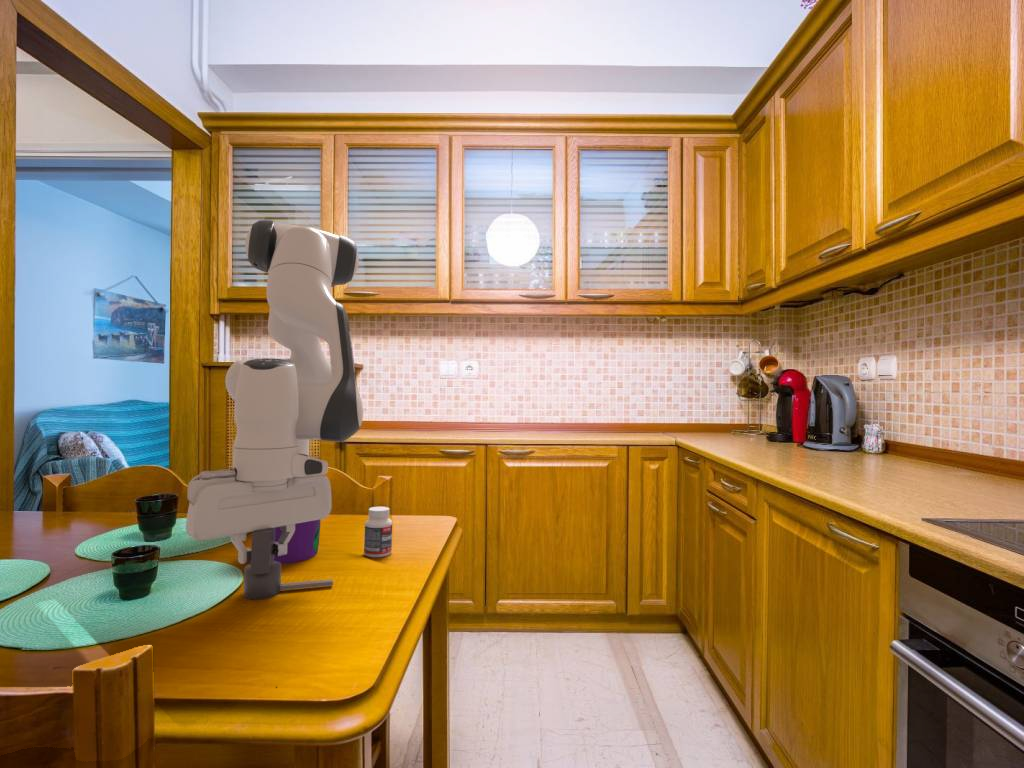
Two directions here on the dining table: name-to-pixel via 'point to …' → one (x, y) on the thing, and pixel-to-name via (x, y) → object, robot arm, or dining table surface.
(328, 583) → the grey block with rod
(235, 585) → the dining table surface
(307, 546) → the mug
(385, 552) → the pill bottle
